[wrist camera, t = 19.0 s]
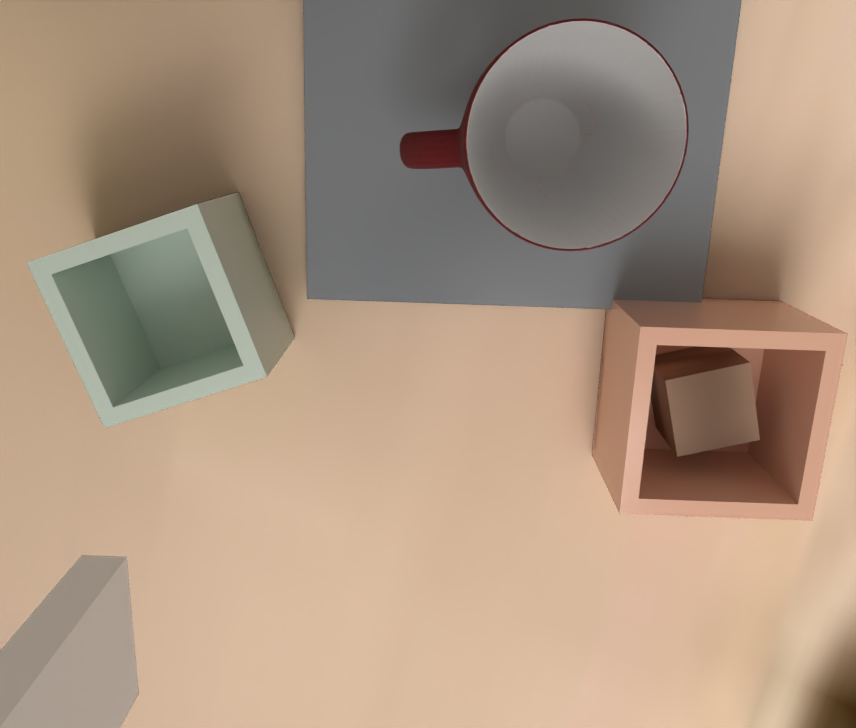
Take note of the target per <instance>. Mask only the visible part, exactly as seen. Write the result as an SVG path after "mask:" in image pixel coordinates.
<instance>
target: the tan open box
mask: <svg viewBox="0 0 856 728" xmlns="http://www.w3.org/2000/svg"><path fill="white" fill-rule="evenodd" d="M847 335H848V334H847V333H845V332H843V331H841V330H839V329H837V328H835V327H833V326H831V325H829V324H827V323H825V322H823V321H821V320H819V319H817V318H815V317H812V316H810V315H808V314H806V313H804V312H802V311H800V310H798V309H796V308H794V307H792V306H790V305H788V304H786V303H784V302H782V301H769V300H740V299H711V298H702V302H701V303H696V302H667V301H638V300H612V308H611V309H606V316H605V326H604V336H603V346H602V357H601V367H600V377H599V387H598V397H597V408H596V418H595V428H594V438H593V448H592V456H593V458H594V460H595V463H596V465H597V467H598V469H599V471H600V473H601V475H602V477H603V480H604V482H605V484H606V486H607V488H608V490H609V492H610V494H611V497H612V499H613V501H614V503H615V505H616V507H617V509H618V511H619V514H642V515H670V516H697V517H725V518H753V519H781V520H808V521H812V520H813V515H814V510H815V505H816V499H817V494H818V489H819V483H820V478H821V473H822V467H823V462H824V457H825V452H826V446H827V441H828V436H829V430H830V425H831V420H832V415H833V409H834V404H835V399H836V393H837V388H838V383H839V377H840V372H841V367H842V362H843V356H844V351H845V346H846V340H847ZM695 346H699V347H728V348H731V349H733V350H734V351H736V352H737V353H738V354H740V355H741V356H742V357H744V358H745V359H746V360H748V361H749V362H750V363H751V371H752V380H753V388H754V396H755V404H756V412H757V420H758V428H759V436H760V440H757V441H752V442H747V443H742V444H738V445H733V446H728V447H723V448H718V449H713V450H708V451H703V452H699V453H694V454H689V455H684V456H679V457H677V456H676V454H675V453H674V452H673V450H672V449H671V448H670V446H669V445H668V443H667V442H666V441H665V439H664V438H663V437H662V435H661V434H660V433H659V431H658V430H657V428H656V426H655V420H654V414H653V408H652V402H651V389H652V380H653V372H654V364H655V355H658V354H662V353H667V352H672V351H676V350H681V349H686V348H690V347H695Z"/></svg>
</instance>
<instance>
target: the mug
mask: <svg viewBox="0 0 856 728" xmlns="http://www.w3.org/2000/svg"><path fill="white" fill-rule="evenodd" d="M688 134H689V123H688V112H687V106H686V102H685V97H684V94H683V91H682V88H681V85H680V83H679V81H678V79H677V77H676V75H675V73H674V71H673V69H672V68H671V66H670V65H669V63H668V62H667V61H666V59H665V58H664V57H663V55H662V54H661V53H660V52H659V51H658V50H657V49H656V48H655V47H654V46H653V45H652V44H651V43H649V42H648V41H647V40H646V39H644V38H643V37H641V36H640V35H638V34H637V33H635V32H633V31H631V30H630V29H628V28H625V27H623V26H620V25H618V24H615V23H611V22H608V21H603V20H597V19H586V18H580V19H567V20H560V21H556V22H552V23H549V24H546V25H543V26H541V27H538V28H536V29H534V30H532V31H530V32H528V33H526V34H524V35H523V36H521V37H519V38H518V39H516V40H515V41H514V42H513V43H511V44H510V45H509V46H507V47H506V48H505V49H504V50H503V51H502V52H501V53H500V54H498V55H497V56H496V57H495V59H494V60H493V61H492V62H491V63H490V64H489V65H488V67H487V68H486V70H485V71H484V72H483V74H482V75H481V77H480V78H479V80H478V82H477V83H476V85H475V87H474V89H473V91H472V93H471V95H470V98H469V101H468V103H467V106H466V109H465V113H464V116H463V119H462V122H461V125H460V127H459V128H458V129H449V130H435V131H421V132H409V133H406V134H405V135H404V136H403V137H402V138H401V142H400V157H401V160H402V162H403V164H404V165H405V166H406V167H407V168H411V169H439V168H456V167H460V168H462V169H463V170H464V172H465V174H466V176H467V178H468V181H469V183H470V185H471V187H472V189H473V191H474V193H475V194H476V196H477V198H478V199H479V201H480V202H481V204H482V205H483V207H484V208H485V209H486V210H487V212H488V213H489V214H490V215H491V216H492V217H493V218H494V219H495V220H496V221H497V222H498V223H499V224H500V225H501V226H502V227H504V228H505V229H506V230H507V231H509V232H510V233H512V234H513V235H515V236H516V237H518V238H520V239H522V240H524V241H526V242H528V243H531V244H533V245H536V246H539V247H543V248H547V249H552V250H559V251H582V250H589V249H594V248H598V247H602V246H605V245H608V244H611V243H613V242H615V241H618V240H620V239H622V238H624V237H625V236H627V235H629V234H631V233H632V232H634V231H635V230H637V229H638V228H639V227H641V226H642V225H643V224H644V223H645V222H647V221H648V220H649V219H650V218H651V217H652V216H653V215H654V214H655V213H656V212H657V211H658V209H659V208H660V207H661V206H662V205H663V203H664V202H665V200H666V199H667V198H668V196H669V195H670V193H671V191H672V189H673V188H674V186H675V184H676V182H677V180H678V177H679V175H680V173H681V170H682V167H683V164H684V160H685V156H686V152H687V145H688Z"/></svg>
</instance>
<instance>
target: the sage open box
mask: <svg viewBox="0 0 856 728" xmlns="http://www.w3.org/2000/svg"><path fill="white" fill-rule="evenodd" d="M27 265H28V267H29V269H30V272H31V274H32V276H33V278H34V280H35V282H36V284H37V286H38V288H39V291H40V293H41V295H42V297H43V299H44V301H45V303H46V305H47V307H48V310H49V312H50V314H51V316H52V318H53V320H54V322H55V324H56V327H57V329H58V331H59V333H60V335H61V337H62V339H63V341H64V343H65V346H66V348H67V350H68V352H69V354H70V356H71V358H72V360H73V363H74V365H75V367H76V369H77V371H78V373H79V375H80V377H81V379H82V382H83V384H84V386H85V388H86V390H87V392H88V394H89V396H90V399H91V401H92V403H93V405H94V407H95V409H96V411H97V413H98V415H99V418H100V420H101V422H102V424H103V426H104V428H107V427H110V426H113V425H116V424H119V423H122V422H126V421H129V420H132V419H135V418H138V417H141V416H145V415H148V414H151V413H154V412H157V411H160V410H164V409H167V408H170V407H173V406H176V405H179V404H183V403H186V402H189V401H192V400H195V399H198V398H202V397H205V396H208V395H211V394H214V393H217V392H221V391H224V390H227V389H230V388H233V387H236V386H239V385H243V384H246V383H249V382H252V381H255V380H258V379H262V378H265V377H267V376H268V375H269V373H270V372H271V370H272V369H273V368H274V366H275V365H276V363H277V362H278V361H279V359H280V358H281V356H282V355H283V354H284V352H285V351H286V350H287V348H288V347H289V345H290V344H291V343H292V341H293V340H294V338H295V337H294V334H293V331H292V329H291V326H290V324H289V321H288V319H287V316H286V313H285V311H284V308H283V306H282V303H281V300H280V298H279V295H278V293H277V290H276V288H275V285H274V282H273V280H272V277H271V275H270V272H269V269H268V267H267V264H266V262H265V259H264V257H263V254H262V251H261V249H260V246H259V244H258V241H257V238H256V236H255V233H254V231H253V228H252V226H251V223H250V220H249V218H248V215H247V213H246V210H245V208H244V205H243V202H242V200H241V197H240V195H239V192H237V193H234V194H230V195H227V196H223V197H220V198H216V199H213V200H209V201H206V202H202V203H198V204H195V205H192V206H190V207H187V208H184V209H181V210H178V211H175V212H172V213H169V214H166V215H163V216H160V217H158V218H155V219H152V220H149V221H146V222H143V223H140V224H137V225H134V226H131V227H128V228H126V229H123V230H120V231H117V232H114V233H111V234H108V235H105V236H102V237H99V238H97V239H94V240H91V241H88V242H85V243H82V244H79V245H76V246H73V247H70V248H67V249H65V250H62V251H59V252H56V253H53V254H50V255H47V256H44V257H41V258H38V259H35V260H33V261H30V262H27Z"/></svg>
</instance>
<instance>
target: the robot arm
mask: <svg viewBox="0 0 856 728" xmlns="http://www.w3.org/2000/svg"><path fill="white" fill-rule="evenodd" d="M138 694H139V690H138V679H137V667H136V656H135V644H134V633H133V621H132V610H131V598H130V587H129V575H128V564H127V557H116V556H89V555H82V556H81V557H80V558H79V559H78V560H77V562H76V563H75V564H74V565H73V566H72V567H71V569H70V570H69V571H68V572H67V573H66V574H65V576H64V577H63V578H62V579H61V580H60V581H59V583H58V584H57V585H56V586H55V587H54V588H53V590H52V591H51V592H50V593H49V594H48V595H47V597H46V598H45V599H44V600H43V601H42V603H41V604H40V605H39V606H38V607H37V608H36V610H35V611H34V612H33V613H32V614H31V615H30V617H29V618H28V619H27V620H26V621H25V622H24V624H23V625H22V626H21V627H20V628H19V629H18V631H17V632H16V633H15V634H14V635H13V636H12V638H11V639H10V640H9V641H8V642H7V643H6V645H5V646H4V647H3V648H2V649H1V650H0V728H120V727H121V725H122V723H123V722H124V720H125V718H126V716H127V714H128V712H129V710H130V709H131V707H132V705H133V703H134V701H135V699H136V698H137V696H138Z"/></svg>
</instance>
